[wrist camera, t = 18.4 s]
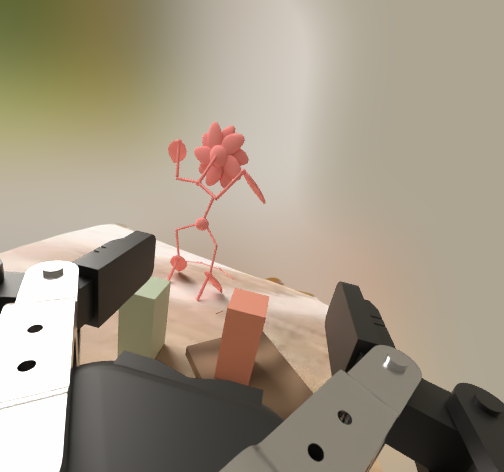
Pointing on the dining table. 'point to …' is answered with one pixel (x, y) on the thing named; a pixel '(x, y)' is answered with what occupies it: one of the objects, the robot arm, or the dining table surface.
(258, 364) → the walnut board
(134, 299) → the olive block
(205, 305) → the dining table surface
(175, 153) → the figurine
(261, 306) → the red block
